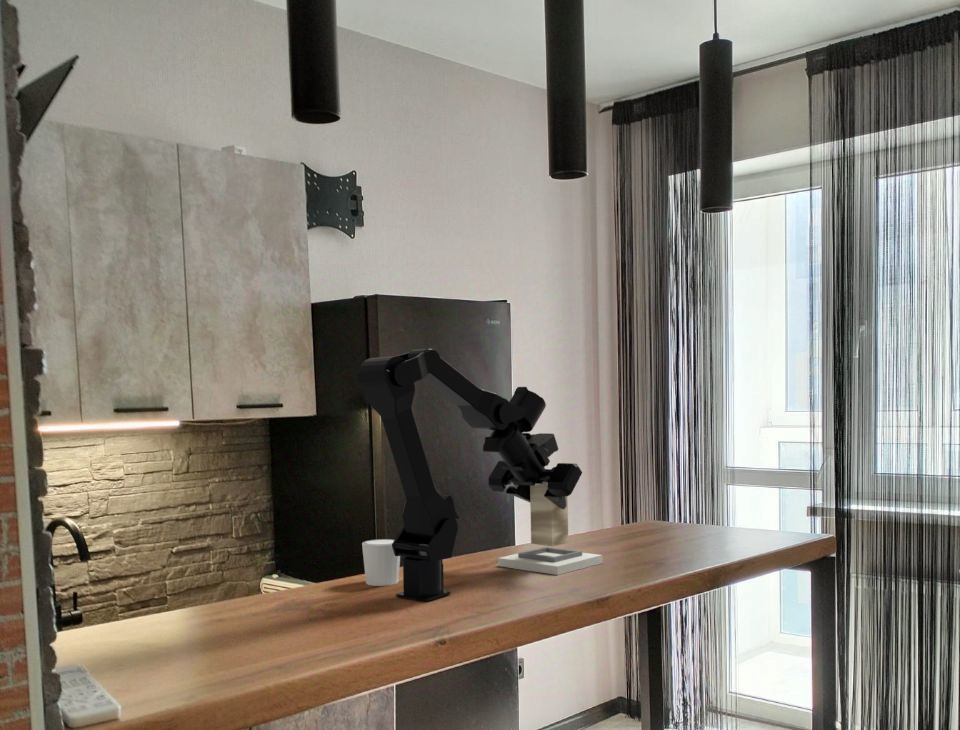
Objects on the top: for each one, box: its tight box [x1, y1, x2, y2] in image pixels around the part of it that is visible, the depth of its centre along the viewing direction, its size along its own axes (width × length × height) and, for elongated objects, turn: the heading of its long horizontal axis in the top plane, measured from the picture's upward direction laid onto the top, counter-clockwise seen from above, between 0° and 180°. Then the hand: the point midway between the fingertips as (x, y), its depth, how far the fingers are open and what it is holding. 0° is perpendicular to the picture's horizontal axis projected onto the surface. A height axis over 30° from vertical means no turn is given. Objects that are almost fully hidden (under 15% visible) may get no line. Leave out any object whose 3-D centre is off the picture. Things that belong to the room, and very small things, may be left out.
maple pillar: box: [529, 482, 569, 547], centre depth 160 cm, size 5×5×13 cm
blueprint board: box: [497, 546, 603, 576], centre depth 160 cm, size 14×14×2 cm
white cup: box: [361, 538, 401, 587], centre depth 147 cm, size 7×7×7 cm
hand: (553, 506), depth 161 cm, fingers closed on maple pillar, 5 cm apart
